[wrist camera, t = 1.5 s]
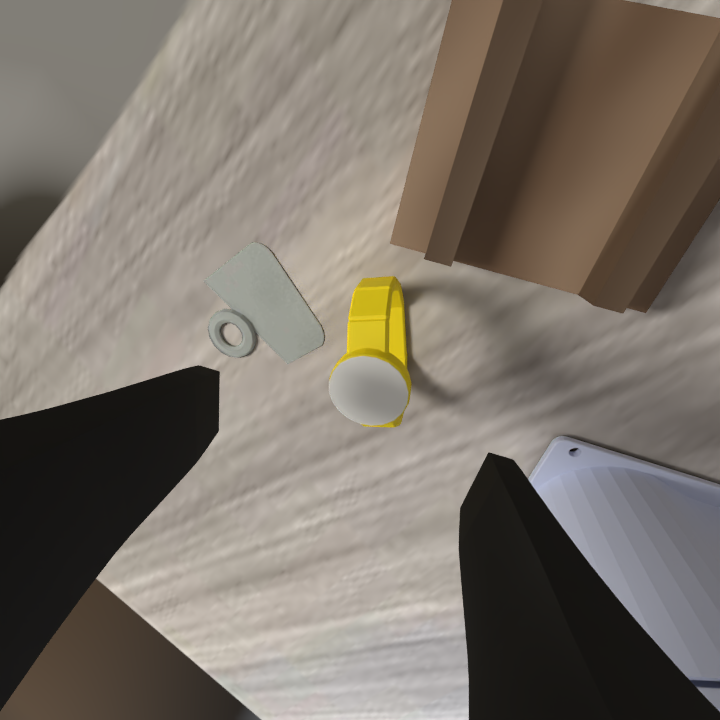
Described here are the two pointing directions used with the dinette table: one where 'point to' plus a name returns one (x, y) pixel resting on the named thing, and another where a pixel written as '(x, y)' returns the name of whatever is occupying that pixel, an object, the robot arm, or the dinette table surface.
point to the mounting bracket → (262, 306)
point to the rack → (568, 145)
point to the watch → (374, 357)
